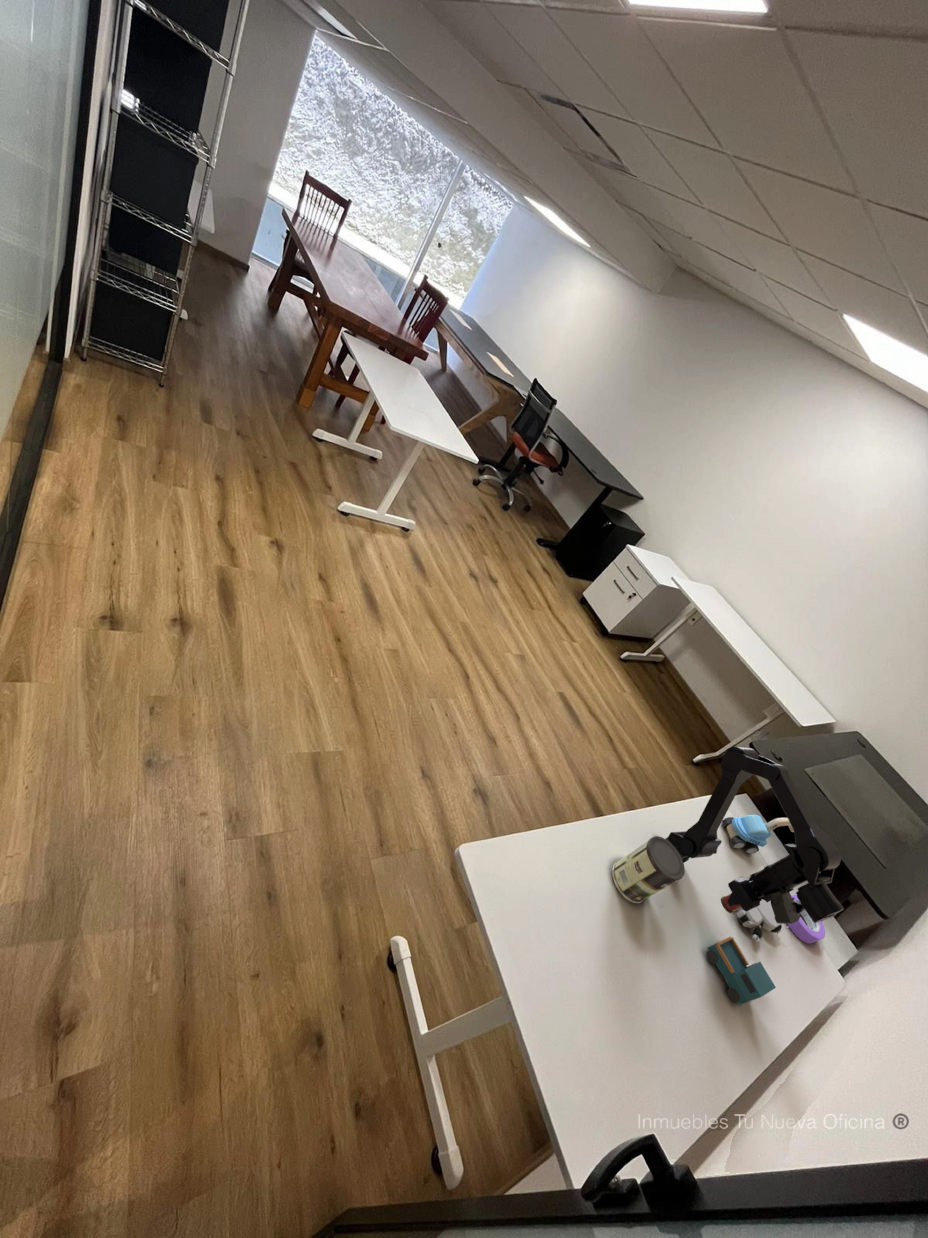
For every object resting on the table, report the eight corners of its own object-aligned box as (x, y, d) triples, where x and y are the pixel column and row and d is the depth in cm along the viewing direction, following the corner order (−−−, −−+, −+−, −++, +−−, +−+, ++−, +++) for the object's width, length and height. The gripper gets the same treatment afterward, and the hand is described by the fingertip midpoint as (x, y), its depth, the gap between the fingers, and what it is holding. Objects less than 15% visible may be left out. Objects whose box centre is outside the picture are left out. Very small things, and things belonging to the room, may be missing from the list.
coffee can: (651, 890, 135) (691, 866, 127) (633, 912, 127) (674, 888, 119) (623, 854, 139) (660, 829, 131) (604, 872, 131) (642, 847, 124)
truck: (702, 950, 129) (726, 938, 125) (718, 942, 134) (742, 931, 129) (734, 1007, 122) (760, 997, 118) (750, 997, 127) (776, 987, 122)
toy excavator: (766, 861, 167) (813, 836, 157) (727, 847, 162) (772, 820, 152) (755, 835, 173) (799, 810, 164) (717, 821, 169) (760, 794, 159)
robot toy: (749, 949, 138) (779, 931, 147) (762, 943, 136) (791, 926, 144) (719, 900, 145) (748, 886, 154) (731, 894, 143) (760, 880, 151)
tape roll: (821, 941, 153) (832, 936, 151) (799, 946, 147) (811, 941, 145) (794, 898, 161) (805, 893, 158) (773, 901, 155) (784, 896, 153)
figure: (721, 907, 129) (747, 893, 124) (720, 894, 132) (746, 879, 127) (734, 917, 128) (761, 903, 124) (732, 903, 132) (759, 889, 127)
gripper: (791, 922, 110) (734, 948, 119) (828, 903, 121) (774, 928, 130) (754, 868, 117) (703, 897, 126) (793, 855, 128) (743, 882, 136)
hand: (732, 902), depth 129 cm, fingers closed on figure, 3 cm apart
